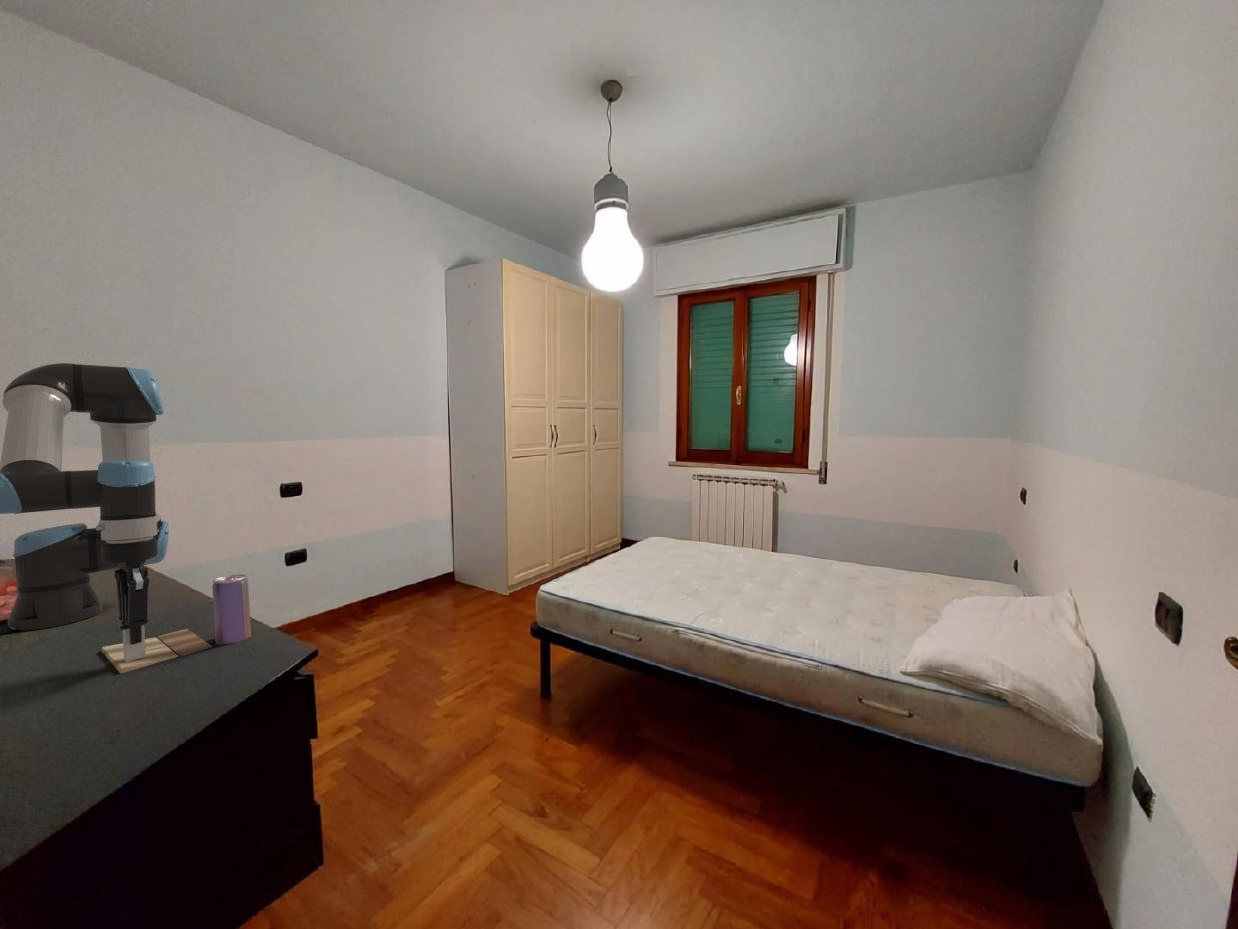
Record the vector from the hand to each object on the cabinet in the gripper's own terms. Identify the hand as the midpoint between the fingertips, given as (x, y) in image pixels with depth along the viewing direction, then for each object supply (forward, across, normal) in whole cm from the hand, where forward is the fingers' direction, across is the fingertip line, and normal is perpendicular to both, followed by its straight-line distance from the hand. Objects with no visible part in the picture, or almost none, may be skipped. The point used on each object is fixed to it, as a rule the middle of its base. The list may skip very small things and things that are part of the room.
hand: (134, 658), depth 91 cm
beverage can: (+2, +2, +15) cm, 15 cm away
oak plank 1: (+2, -9, +1) cm, 9 cm away
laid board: (+2, -5, +8) cm, 10 cm away
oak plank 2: (+2, 0, +1) cm, 2 cm away
